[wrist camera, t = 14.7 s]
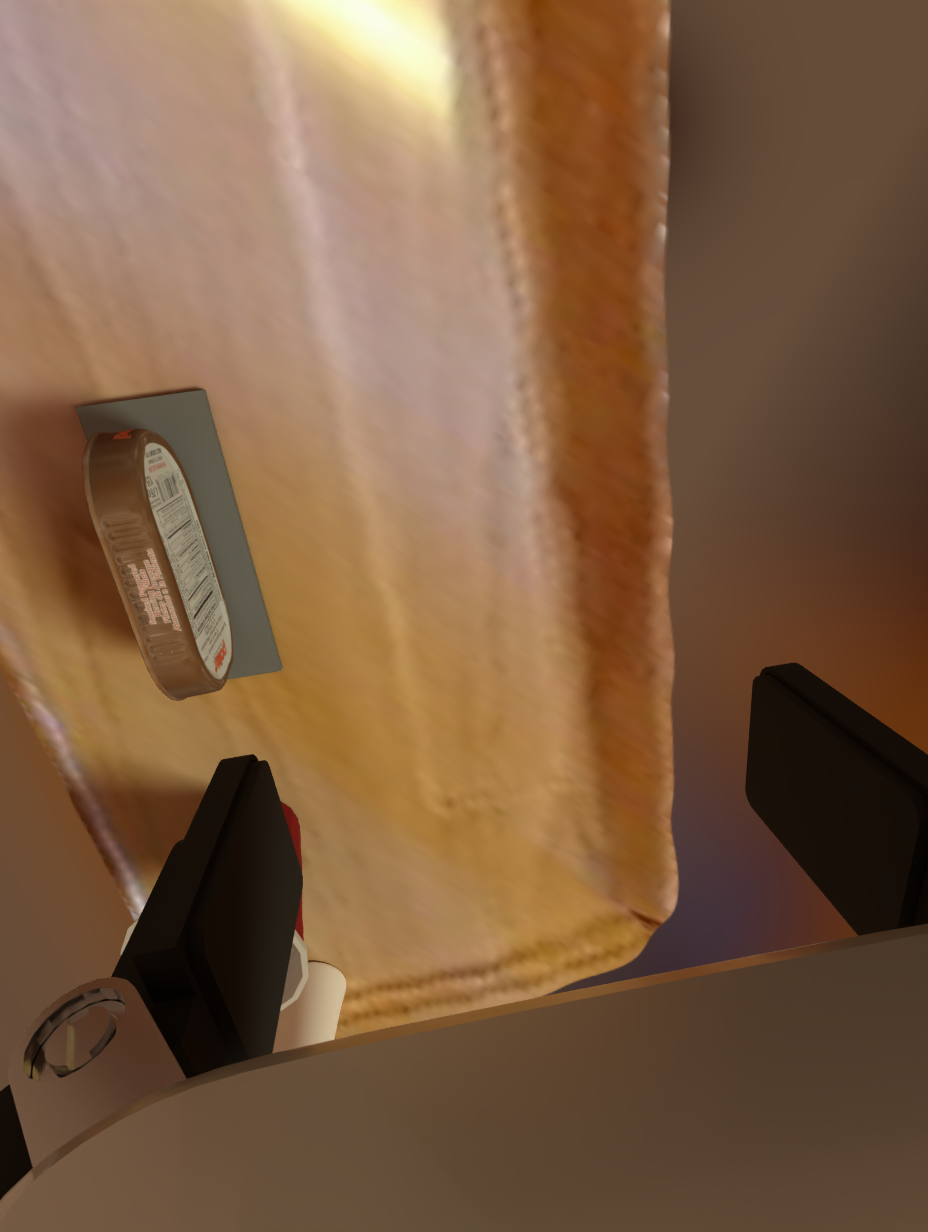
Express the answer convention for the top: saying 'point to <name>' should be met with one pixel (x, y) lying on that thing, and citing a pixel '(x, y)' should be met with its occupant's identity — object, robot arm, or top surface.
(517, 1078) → the robot arm
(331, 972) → the cosmetic bottle
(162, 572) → the tin
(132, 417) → the mat
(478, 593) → the top surface
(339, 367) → the top surface
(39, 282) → the top surface
